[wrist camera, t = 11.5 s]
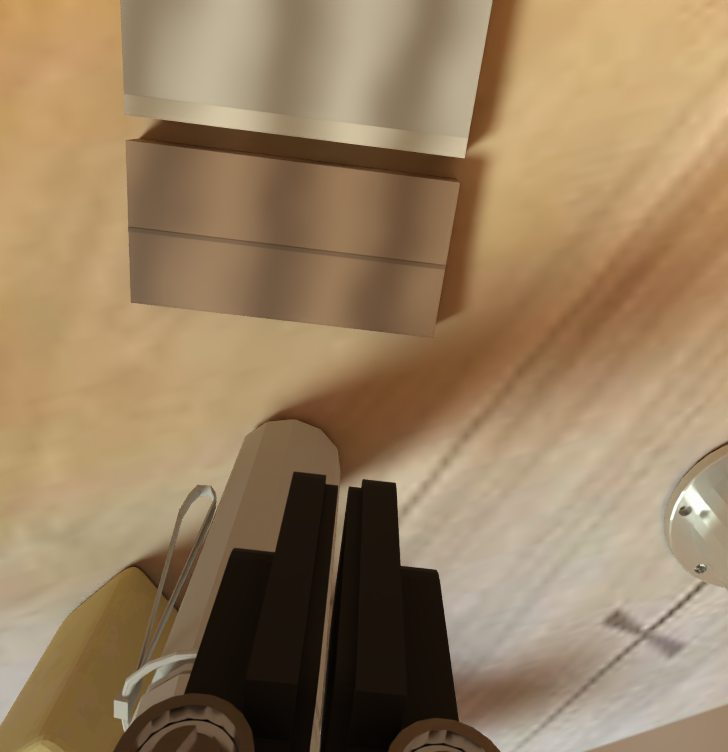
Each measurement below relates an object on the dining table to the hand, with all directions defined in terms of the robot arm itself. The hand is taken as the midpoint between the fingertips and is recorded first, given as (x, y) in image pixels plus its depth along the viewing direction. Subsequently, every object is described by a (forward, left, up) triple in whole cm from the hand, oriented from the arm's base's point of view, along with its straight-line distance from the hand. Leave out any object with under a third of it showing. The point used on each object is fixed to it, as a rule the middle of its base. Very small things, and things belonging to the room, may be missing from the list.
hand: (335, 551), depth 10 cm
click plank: (+4, -10, -29) cm, 31 cm away
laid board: (+4, +1, -29) cm, 29 cm away
